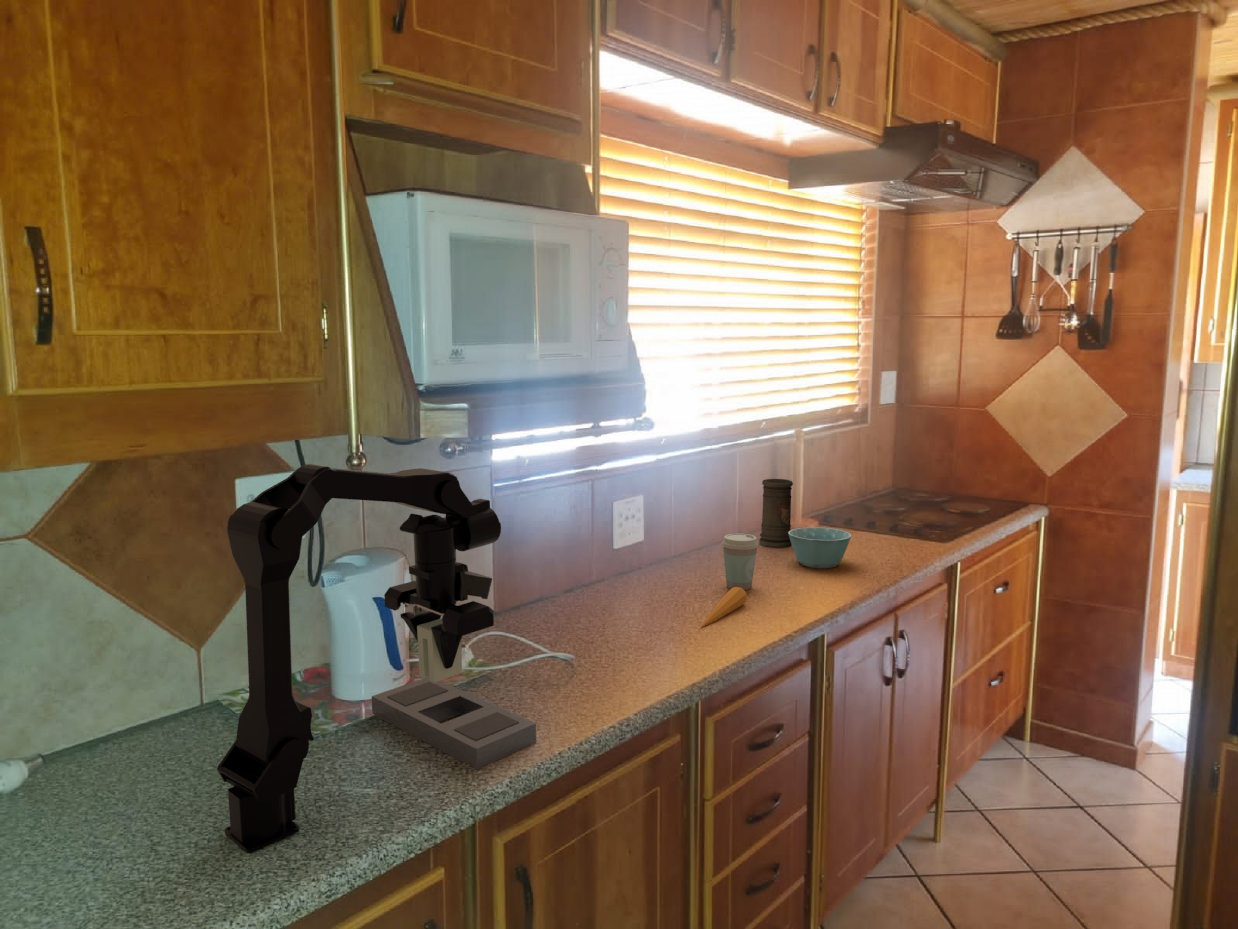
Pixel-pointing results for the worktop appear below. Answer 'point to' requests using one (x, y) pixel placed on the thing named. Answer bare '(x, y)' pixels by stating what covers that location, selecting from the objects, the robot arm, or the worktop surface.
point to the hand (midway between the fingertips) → (440, 664)
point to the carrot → (727, 604)
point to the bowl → (819, 546)
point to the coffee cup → (739, 559)
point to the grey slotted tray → (454, 721)
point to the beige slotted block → (434, 655)
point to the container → (776, 513)
